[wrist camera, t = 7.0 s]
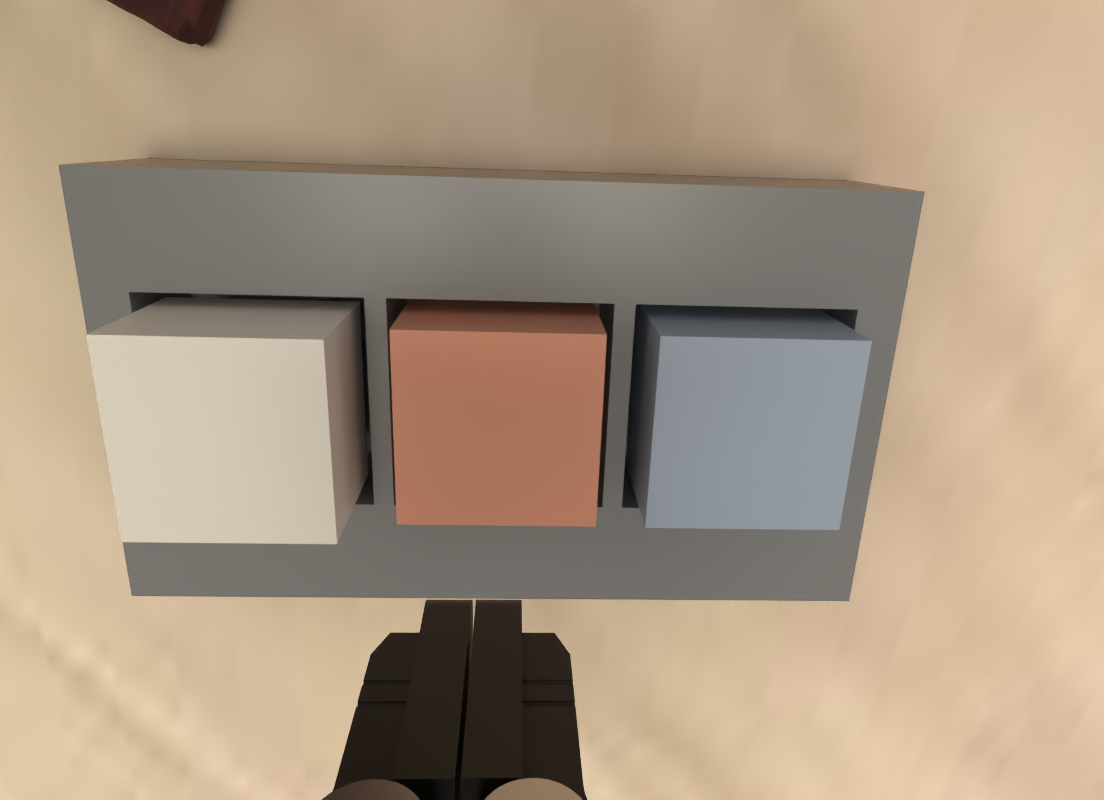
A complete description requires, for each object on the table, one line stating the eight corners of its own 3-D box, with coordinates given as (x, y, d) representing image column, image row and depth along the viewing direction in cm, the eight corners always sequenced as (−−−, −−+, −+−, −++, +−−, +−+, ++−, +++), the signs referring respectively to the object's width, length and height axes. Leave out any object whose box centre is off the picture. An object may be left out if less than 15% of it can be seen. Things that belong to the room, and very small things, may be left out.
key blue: (625, 464, 26) (645, 527, 22) (636, 300, 24) (660, 336, 20) (789, 466, 26) (839, 529, 22) (812, 305, 24) (871, 341, 20)
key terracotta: (416, 461, 26) (396, 524, 22) (412, 295, 24) (389, 329, 20) (584, 463, 26) (596, 526, 22) (592, 299, 24) (607, 334, 20)
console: (195, 520, 29) (131, 595, 24) (147, 158, 25) (58, 164, 20) (797, 527, 30) (849, 601, 25) (850, 180, 26) (924, 191, 21)
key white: (189, 472, 24) (121, 542, 20) (165, 297, 23) (85, 334, 18) (368, 474, 25) (337, 544, 20) (359, 301, 23) (323, 339, 19)
